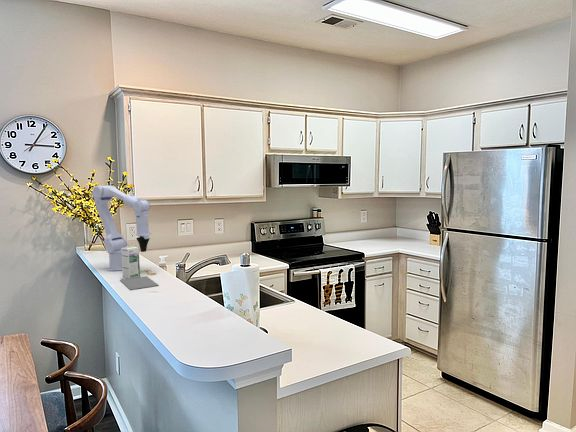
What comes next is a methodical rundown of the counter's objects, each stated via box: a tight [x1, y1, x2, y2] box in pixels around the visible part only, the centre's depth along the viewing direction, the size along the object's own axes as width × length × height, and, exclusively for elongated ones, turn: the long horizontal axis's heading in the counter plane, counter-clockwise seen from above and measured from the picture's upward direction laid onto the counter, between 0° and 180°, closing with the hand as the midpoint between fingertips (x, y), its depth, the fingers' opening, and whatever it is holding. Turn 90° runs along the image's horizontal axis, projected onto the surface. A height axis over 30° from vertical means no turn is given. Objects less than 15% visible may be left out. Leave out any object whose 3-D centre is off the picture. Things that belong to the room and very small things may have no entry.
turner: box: [144, 268, 157, 276], centre depth 207 cm, size 12×4×1 cm, turn 33°
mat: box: [119, 275, 160, 291], centre depth 187 cm, size 20×12×1 cm, turn 33°
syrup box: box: [121, 246, 141, 279], centre depth 198 cm, size 6×6×14 cm
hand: (143, 251), depth 208 cm, fingers closed
